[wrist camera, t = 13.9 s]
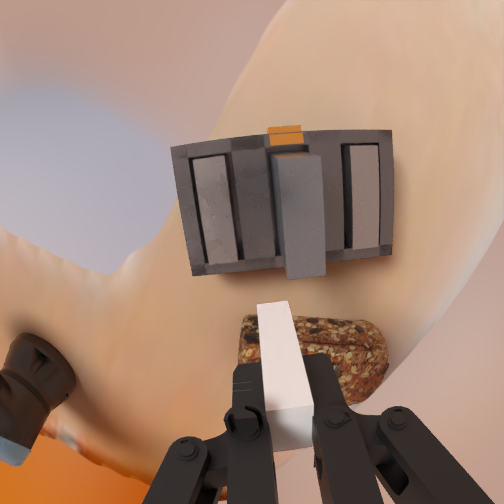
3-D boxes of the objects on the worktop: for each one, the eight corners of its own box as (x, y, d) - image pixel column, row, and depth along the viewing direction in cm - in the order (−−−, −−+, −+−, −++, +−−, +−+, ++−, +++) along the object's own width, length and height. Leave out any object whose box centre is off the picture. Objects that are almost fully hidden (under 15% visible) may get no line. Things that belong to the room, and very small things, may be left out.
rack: (201, 254, 36) (191, 280, 30) (183, 140, 31) (166, 141, 25) (371, 236, 35) (395, 258, 29) (368, 125, 30) (395, 124, 24)
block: (268, 152, 29) (277, 159, 20) (298, 149, 29) (320, 156, 20) (276, 237, 32) (287, 279, 23) (304, 234, 32) (325, 275, 23)
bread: (372, 315, 40) (399, 360, 31) (352, 370, 44) (369, 416, 34) (241, 306, 39) (239, 357, 30) (234, 366, 43) (232, 417, 34)
